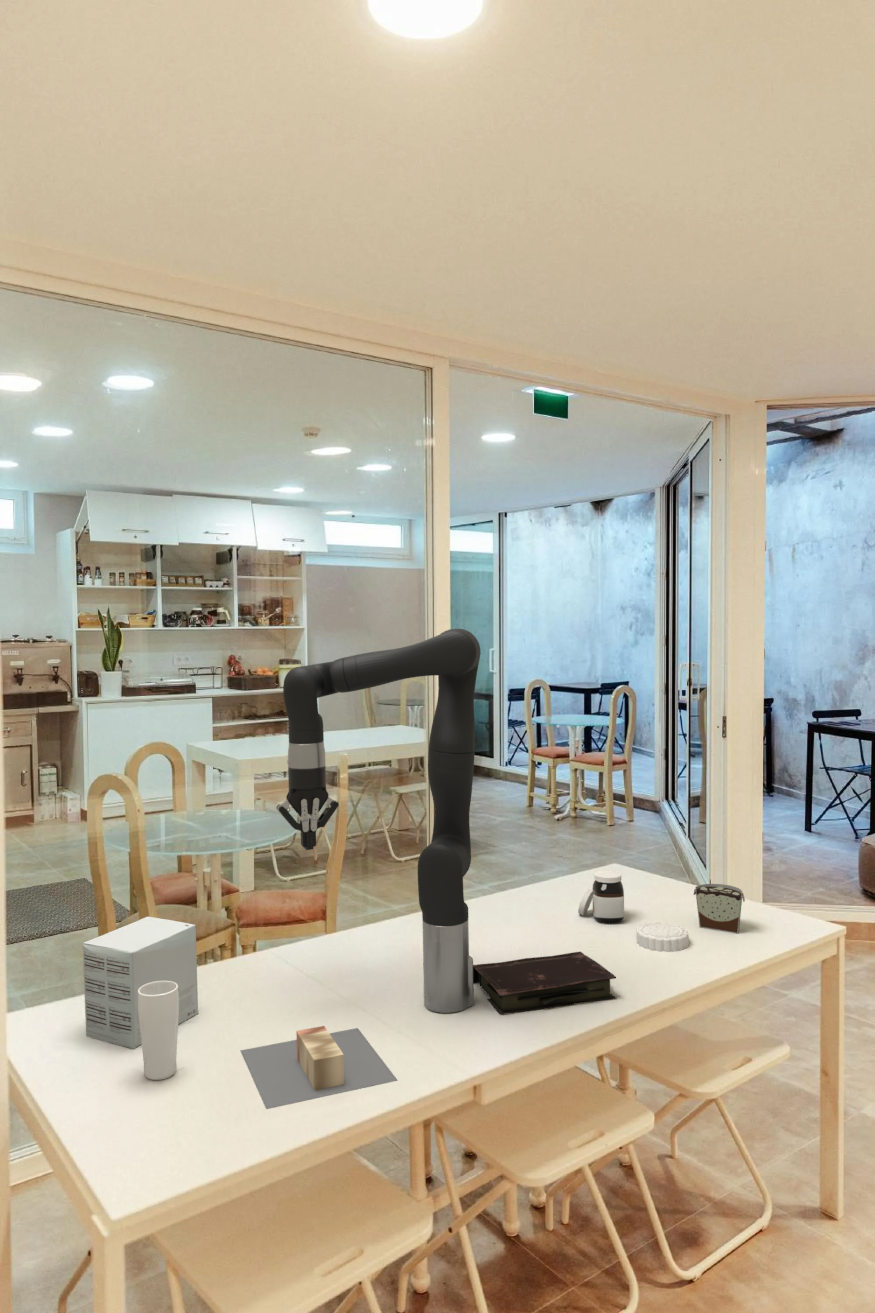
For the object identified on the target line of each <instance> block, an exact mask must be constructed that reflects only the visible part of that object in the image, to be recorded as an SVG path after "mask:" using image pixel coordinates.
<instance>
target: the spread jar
mask: <svg viewBox="0 0 875 1313" xmlns="http://www.w3.org/2000/svg"><path fill="white" fill-rule="evenodd" d="M593 878H594V881H593V883H592V889H590V888H587V889H586V890H585V892H584V894H583V895H582V898H581V900H580V902H579V906H578V910H577V913H578V914H579V915H582V916H585V915H586V914H587V912H588V910H589V908H590V906H591V903H592V914H593V915H592V916H593V919H594V920H595V921H596V922H598V923H601V924H602V923H603V924H617V923H620V922H622V921H623V920H624V918H625V893H624V892H625V890H624V886H623V883H622V873H620V872H619V871H613V870H599V871H595V872H594V877H593Z"/></svg>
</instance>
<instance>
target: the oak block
mask: <svg viewBox="0 0 875 1313" xmlns="http://www.w3.org/2000/svg"><path fill="white" fill-rule="evenodd" d="M295 1032H296V1040H297V1060H298V1062H299V1063H300V1065H301V1067H302V1069H303V1070H304V1072H305V1074H306V1076H307V1077H308V1079H309V1081H310V1083H311V1084H312V1086H313V1088H314V1090H319V1089H324V1088H329V1087H333V1086H338V1085H343V1084H344V1054H343V1053H342V1051H341V1050H340V1048H339V1047H338V1045H337V1044H336V1042H335V1041H334V1040H333V1038H332V1037H331V1035H330V1034H329V1033H330V1032H329V1031H328V1029H327V1027H326V1026H325V1025H321V1026H317V1027H311V1028H305V1029H300V1030H296V1031H295Z"/></svg>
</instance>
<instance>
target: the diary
mask: <svg viewBox="0 0 875 1313" xmlns="http://www.w3.org/2000/svg"><path fill="white" fill-rule="evenodd" d="M614 979H617V976H616V975H614V974H613V973H612V972H610V971H609V970H608V969H607V968H605V967H604V966H603V965H601V964H600V963H599V962H597V961H596V960H594V959H593V958H591V957H589V956H588V955H587V954H585V953H584V952H582V951H575V952H573V951H572V952H567V953H562V954H561V953H560V954H556V955H548V956H547V955H546V956H539V957H538V956H537V957H526V958H520V959H513V960H507V961H501V962H491V963H490V962H487V963H480V964H473V985H474V984H479V987H480V988H481V990H483V992H484V993H485V994H486V995H487V996H488V997H489V998H486V1001H487V1002H488V1003H489V1004H490V1005H491V1006H492V1007H493V1009H494V1010H495V1011H496V1012H497V1013H498V1014H501V1015H514V1014H520V1013H528V1012H535V1011H540V1010H541V1011H542V1010H548V1009H553V1008H559V1007H561V1008H562V1007H569V1006H576V1005H579V1004H584V1003H595V1002H596V1003H598V1002H604V1001H605V1002H606V1001H611V1000H617V997H616V996H615V995H614V994H612V993H611V980H614ZM477 987H478V985H477V986H476V988H477Z"/></svg>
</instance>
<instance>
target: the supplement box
mask: <svg viewBox="0 0 875 1313" xmlns="http://www.w3.org/2000/svg"><path fill="white" fill-rule="evenodd" d="M196 927H197V926H196V924H192V923H188V922H183V921H176V920H172V919H165V918H159V917H154V916H145V917H143V918H141V919H138V920H137V921H134V922H132V923H129V924H127V925H124V926H122V927H119V928H117V929H116V928H115V929H114V930H112V931H109V932H107V933H104V934H102V935H99V936H98V937H94V938H91V939H90V940H87V941H84V942H82V961H83V962H82V965H83V968H82V969H83V989H84V992H83V993H84V1011H85V1013H84V1014H85V1036H86V1037H88V1038H91V1039H96V1040H99V1041H102V1042H105V1043H106V1042H107V1043H110V1044H113V1045H118V1046H120V1047H124V1048H125V1047H126V1048H129V1049H132V1050H135V1049H136V1048H137V1047H139V1046H142V1043H141V1035H140V1027H139V1019H138V989H139V988H140V987H141V986H143V985H145V984H148V983H151V982H155V981H172V982H175V983H176V984H177V985H178V992H179V1020H178V1025H180V1024H182V1023H184V1022H185V1021H187V1020H189V1019H191V1018H193V1017H194V1016H196V1015H198V1014H199V998H198V996H199V993H198V964H197V963H198V962H197V961H198V960H197V957H198V956H197V932H196V930H197V929H196Z"/></svg>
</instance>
